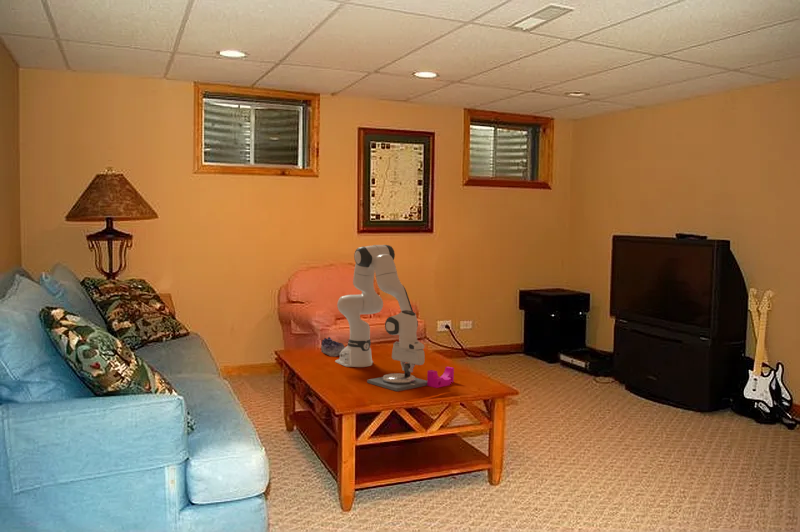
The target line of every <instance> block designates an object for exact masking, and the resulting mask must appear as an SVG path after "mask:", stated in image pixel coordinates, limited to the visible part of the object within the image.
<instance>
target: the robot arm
mask: <svg viewBox="0 0 800 532" xmlns="http://www.w3.org/2000/svg"><path fill="white" fill-rule="evenodd" d="M395 256H396V254H395V250H394V248H393V246H391V245H389V244H373V245H367V246H366V245H365V246H361V247H357V248H356V249H355V251H354V253H353V258H354V262H355V265H354V270H353V271H354V272H353V279H352V285H353V286H354V288H355V289H357V291H358V290H359V291H361V293H359V294H346V295H342V296H340V297H339V298H338V300H337V305H336V307H337V309H338V311H339V313H340V314H341V315H343V316H344V317H345V318H346V320H347V322H348V326H349V339H348V340H346V342H347V346H345V348H344V349H343V350H342V351H341V352H340V355H339V358H338V359H336V360H335V361H334V362H335V363H337V364H339V365H342V366H344V367H346V368H347V367H348V368H350V367H351V368H352V367H355V368H365V367H371V366H373V363H374V360H373V358H372V348H371V344H372V343H371V342H372V341H371V338H370V337H371V326H370V325H369V324H370V323H368V322H366V321H365V320H363V319H362V318H361V315H374V314H378V313H380V312H382V310H383V307H384V301H383V299H382V297H381V296H380V294H378V293H377V292H376V290H375V287H374V286H375V285H374V281H375V279H376V284H377V286H378V289H379V290H380V291H382V292H383V293H385V294H388V295H390V296H392V297H393V298H395V299H396V300H397V301H398V305H399V309H400V311H399V313H398V314H395V315H391V316H388V317H387V318H386V320H385V322H384V328H385V331H386V333H387V334H388V335H391V336H398V338H399V339H398V341H397V340H396V341H395V342H393V347H392V351H391V358H392V361H393V360H394V361H399V362H400V365H401V370H402V371H404V372H405V363H410V368H409V369H408V370H409V372H411V373H413V372H414V368H415V366H423V365H424V363H425V358H426V357H425V351H424V349H425V344H424V343H422V342H420V341H419V340H418V335H417V331H418V327H419V322H418V318H417V315H416V312H415V311H414V310H413V306H412V304H411V301H410V298H409V295H408V292H407V289H406V288H405V286H404V284H402V282H401V281H400V278H399V275H398V270H397V268H396V263H395V261H394V260H395ZM375 277H376V278H375Z"/></svg>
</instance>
